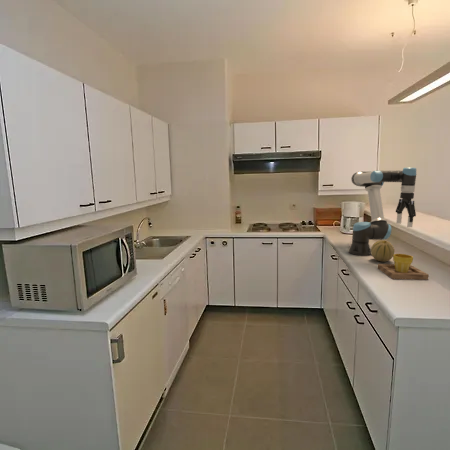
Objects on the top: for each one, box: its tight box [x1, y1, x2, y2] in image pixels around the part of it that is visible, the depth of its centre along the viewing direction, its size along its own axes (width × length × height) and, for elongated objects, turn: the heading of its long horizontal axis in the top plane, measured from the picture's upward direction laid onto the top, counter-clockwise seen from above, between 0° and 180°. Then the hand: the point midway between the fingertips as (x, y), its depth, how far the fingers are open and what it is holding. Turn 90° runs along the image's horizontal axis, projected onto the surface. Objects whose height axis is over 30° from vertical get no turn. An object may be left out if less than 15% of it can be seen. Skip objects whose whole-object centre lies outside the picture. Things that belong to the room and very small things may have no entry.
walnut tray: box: [377, 263, 430, 281], centre depth 193 cm, size 20×20×3 cm
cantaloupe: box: [370, 239, 395, 263], centre depth 219 cm, size 15×15×15 cm
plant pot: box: [392, 253, 414, 273], centre depth 193 cm, size 10×10×10 cm
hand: (404, 225), depth 207 cm, fingers open, 13 cm apart
